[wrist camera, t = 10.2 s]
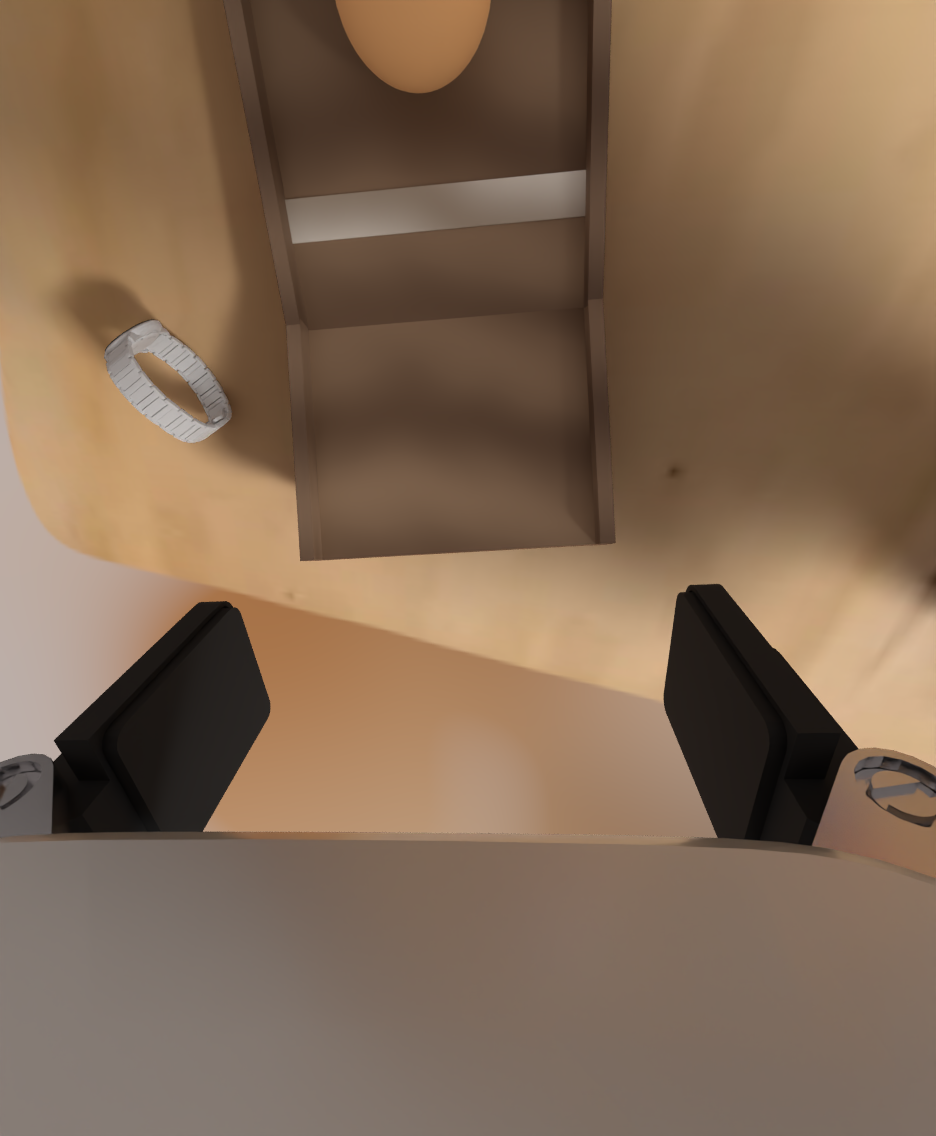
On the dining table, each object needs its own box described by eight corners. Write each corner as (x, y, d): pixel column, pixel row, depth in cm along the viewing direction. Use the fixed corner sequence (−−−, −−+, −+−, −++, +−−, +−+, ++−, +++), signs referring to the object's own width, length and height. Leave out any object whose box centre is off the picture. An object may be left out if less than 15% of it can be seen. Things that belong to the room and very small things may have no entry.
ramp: (582, 501, 27) (614, 562, 21) (346, 515, 28) (305, 579, 21) (603, -123, 17) (680, -399, 10) (228, -74, 18) (77, -301, 11)
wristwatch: (183, 315, 24) (114, 316, 19) (255, 408, 25) (207, 429, 21) (142, 349, 24) (66, 358, 20) (215, 437, 26) (161, 463, 22)
